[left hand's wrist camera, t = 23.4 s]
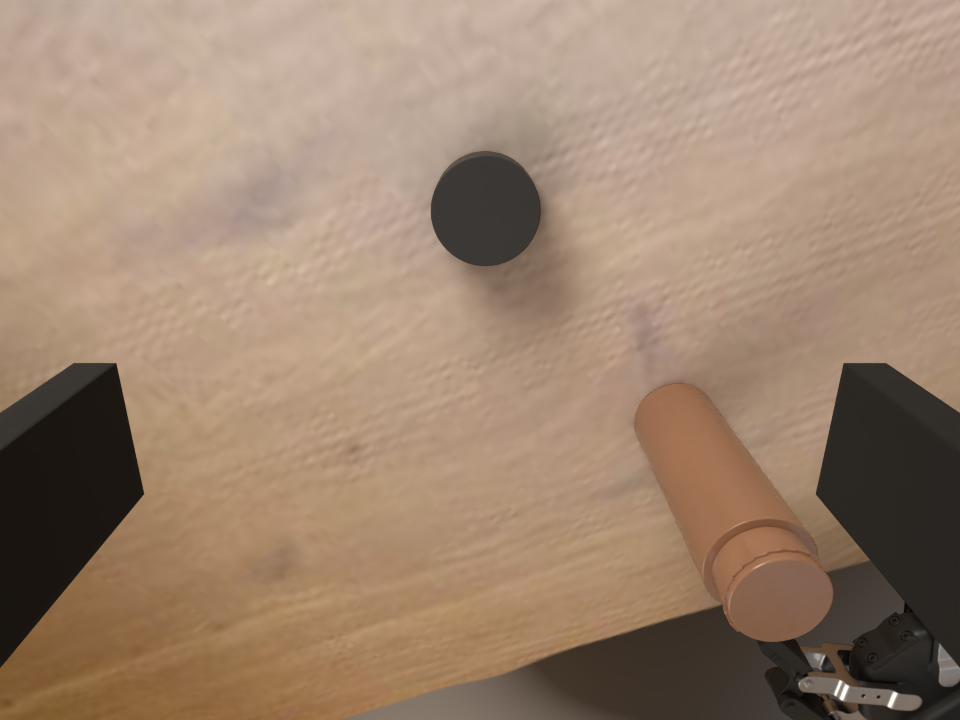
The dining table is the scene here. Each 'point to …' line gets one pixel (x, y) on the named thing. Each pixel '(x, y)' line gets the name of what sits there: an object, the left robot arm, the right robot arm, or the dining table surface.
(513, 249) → the lid
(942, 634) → the left robot arm
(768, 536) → the jar
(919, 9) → the dining table surface
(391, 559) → the dining table surface
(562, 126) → the dining table surface
